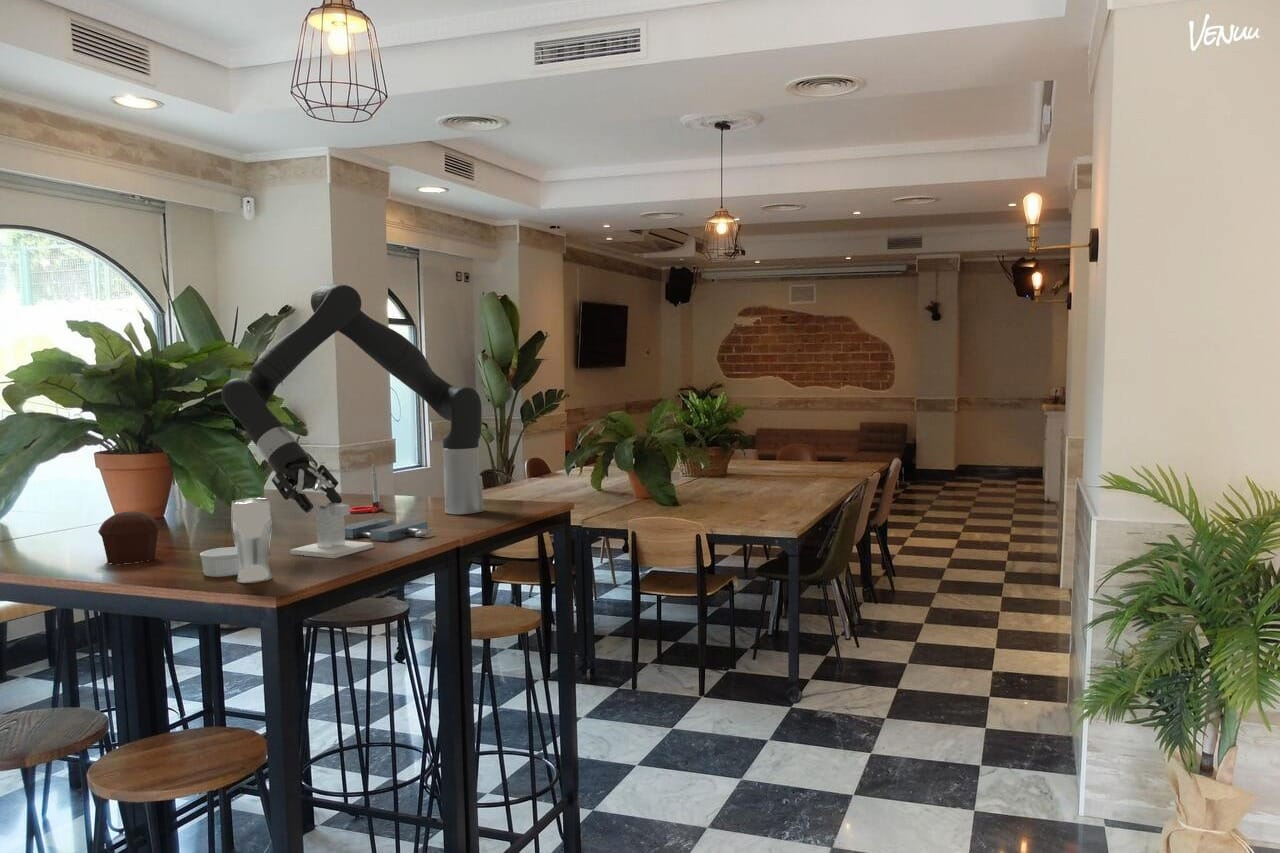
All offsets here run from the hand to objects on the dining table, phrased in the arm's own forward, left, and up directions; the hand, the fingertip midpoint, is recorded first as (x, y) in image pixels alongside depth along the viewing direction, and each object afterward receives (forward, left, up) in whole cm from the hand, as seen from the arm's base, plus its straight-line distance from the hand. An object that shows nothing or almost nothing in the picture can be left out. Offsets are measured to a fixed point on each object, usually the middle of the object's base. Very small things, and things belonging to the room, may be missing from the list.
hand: (324, 507), depth 207 cm
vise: (-16, -11, -9) cm, 22 cm away
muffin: (+37, -13, -10) cm, 40 cm away
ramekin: (+21, +11, -10) cm, 26 cm away
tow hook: (-19, -51, -10) cm, 55 cm away
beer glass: (+17, +21, -10) cm, 29 cm away
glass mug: (-2, +2, -8) cm, 9 cm away
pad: (-1, +1, -9) cm, 10 cm away
